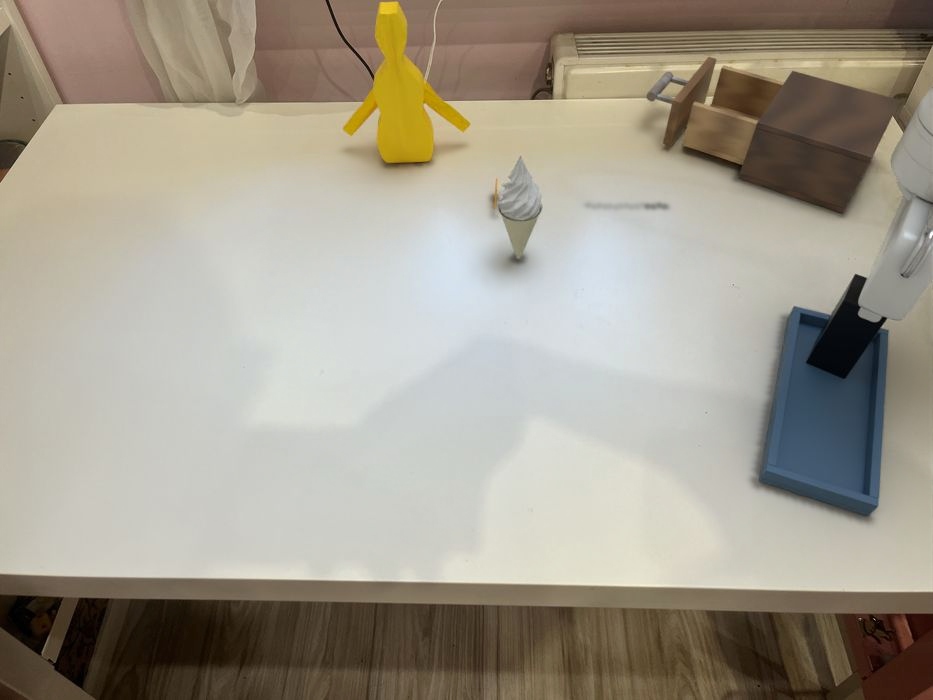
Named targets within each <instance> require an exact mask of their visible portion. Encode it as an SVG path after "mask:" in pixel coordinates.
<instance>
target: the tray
mask: <svg viewBox="0 0 933 700" xmlns="http://www.w3.org/2000/svg"><path fill="white" fill-rule="evenodd" d="M830 315H831V314H828V313H823V312H821V311H820V312H819V311H816V310H813V309H808V308H805V307H802V306H801V307H800V306H797V305H793V307H792V309H791V311H790V313H789V314H788V317H787V319H786V326H785V332H784V337H783V343H782V349H781V354H780V361H779V366H778V372H777V377H776V382H775V387H774V388H775V389H774V395H773V400H772V406H771V412H770V417H769V423H768V428H767V434H766V440H765V445H764V450H763V451H764V452H763V457H762V463H761V468H760V474H759V480H758V481H759V482H761V483H764V484H768V485H770V486H774V487H777V488H780V489H783V490H786V491H789V492H791V493H795V494H798V495H802V496H805V497H808V498H811V499H814V500H817V501H820V502H823V503H827V504H829V505H833V506H835V507H839V508H841V509H845V510H848V511H850V512H854V513H857V514H860V515H863V516H866V517H869V516H870V515H871V514H872V513H873V512H874V511H875V510H876V509H877V508H878V507H879V499H880V485H881V468H882V453H883V438H884V437H883V435H884V421H885V420H884V419H885V418H884V417H885V402H886V388H887V387H886V384H887V370H888V369H887V368H888V351H889V335H890V334H889V333H890V331H889V329H886V328H883V327H881V328H880V330H879V331H878V333H877V334H876V336H875V337H874V338H873V340H872V341H871V343H870V344H869V346H868V347H867V348H866V350H865V351H864V353H863V354H862V356H861V357H860V358H859V360H858V361H857V363H856V364H855V366H854V367H853V368H852V370H851V371H850V373H849V374H848V376H847V377H846V378H845V379H843V378H840V377H838V376H836V375H833V374H831V373H828V372H826V371H824V370H821V369H819V368H817V367H814V366H812V365H809V364H807V363H806V361H807V359H808V357H809V355H810V352H811V350H812V348H813V346H814V343H815V341H816V339H817V337H818V335H819V334H820V332H821V330H822V329H823V327H824V325H825V324H826V322H827V320H828V319H829V317H830Z"/></svg>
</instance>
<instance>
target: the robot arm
mask: <svg viewBox="0 0 933 700" xmlns="http://www.w3.org/2000/svg"><path fill="white" fill-rule="evenodd" d="M890 168H891V172H892V173H893V175H894V177H895V178H896V180H897V187H898V189H899V191H900V193H901V194H902V196H901V198H900V200H899V203H898V205H897V208H896V210H895V212H894V215H893V217H892V219H891V222H890V224H889V226H888V229H887V231H886V233H885V236H884V238H883V241H882V243H881V245H880V247H879V250H878V252H877V254H876V257H875V259H874V261H873V263H872V266H871V268H870V270H869V273H868V275H867V277H866V278H867V280H866V282H865V285H864V287H863V289H862V292H861V294H860V297H859V300H858V304H859V306H860V310H859V312H858V315H859V316H860V317H861V318H864V319H866V320H869V321H872V322H878V321H880V319H881V318H882V316H883V317H886V318H887V319H890V320H892V321H896V322H897V321H899V322H900V321H903V320H905V319H906V318H907V317H908V316H909V315H910V314H911V313H912V311H913V310H914V308H915V307H916V305H917V304H918V302H919V301H920V300H921V297H923V295H924V293H925V292H926V290H927V289H928V288H929V286H930V285H931V283H932V281H933V86H932V87H931V88H930V89H929V90H928V91H927V92H926V94H924V96H923V97H922V98H921V100H920V102H919V104H918V106H917V108H916V109H915V111H914V113H913V114H912V117H911V118H910V121H909V122H908V124H907V126H906V128H905V130H904V131H903V133H902V136H901V137H900V139H899V141H898V143H897V145H896V147H895V148H894V150H893V152H892V154H891V158H890Z"/></svg>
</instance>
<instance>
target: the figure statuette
mask: <svg viewBox="0 0 933 700" xmlns="http://www.w3.org/2000/svg"><path fill="white" fill-rule="evenodd" d="M374 37H375V41H376V44H377V46H378V47H379V50H380V51H381V53H382V54H383V56H384V59H383V61H382V62H381V64H380V66H379V67H378V69H376V72H375V74H374V76H373V86H372V89H371V90H370V92H369V93H368V95H367V96H366V98H365V99H364V100H363V102H362V104H361V105H360V106H359V107H358V108H357V109H356V110H355V111H354V112H353V114H352V115H351V117H350V118H349V119H348V120H347V122H345V125H344V126H343V127H342V130H343V132H345V133H346V134H347V135H348V136H350V137H353V135H355V133H356V132H357V131H358V130H359V129H360V128H361V126H363V124H364V123H366V121H367V120H368V119H369V117H370V116H372V114H373V113H374V112H375V111H376V110H377V109H378V111H379V113H380V114H379V116H378V121H377V130H376V143H377V144H376V145H377V148H378V152H379V154H380V157H381V159H382V160H383V161H384V162H385V163H387V164H400V163H423V162H429V161H431V160H432V158H433V154H434V147H435V146H434V142H435V140H434V139H435V134H434V133H435V132H434V126H433V123H432V120H431V117H430V115H429V113H428V112H427V110H426V108H425V106H424V105H425V104H426V105H427V107H428V108H430V109H431V110H432V111H434V112H435V113H437V114H438V115H439V116H440V117H442V118H443V119H444V120H446V121H447V122H448V123H450V124H451V125H453V126H454V127H455V128H456V129H458V130H459V131H461V132H462V133H465V132H466V131H467V129H468V128H470V126H471V122H470V120H467V118H466V117H464V116H463V115H462V114H461V113H460V112H459V111H458V110H457V109H456V108H454V107H453V106H452V105H451V104H449V103H448V102H446V101H444V100H443V98H441V96H439V95H438V94H437V93H436V91H435V90H434V89H433V87H432V86H431V84H429V82H428V81H426V80H425V77H424V75H423V73H422V71H421V70H420V69H419V67H417V66H416V65H415V64H414V63H413V61H411V60H410V58H409V57H408V56H407V55H406V53H405V49H406V46H407V40H408V21H407V18H406V15H405V14H404V12H403V10H402V7H401V5H400V3H399V1H397V0H396V1H380V2H379V5H378V9H377V14H376V19H375V29H374Z"/></svg>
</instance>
